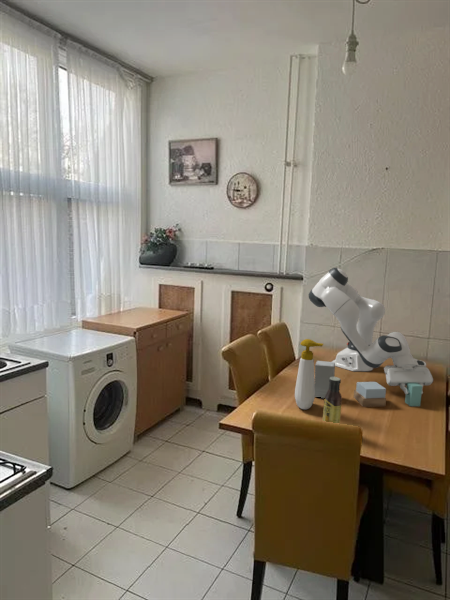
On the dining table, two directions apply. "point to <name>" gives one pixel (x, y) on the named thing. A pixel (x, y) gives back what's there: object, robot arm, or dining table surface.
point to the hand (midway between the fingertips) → (414, 394)
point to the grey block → (371, 390)
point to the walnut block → (369, 400)
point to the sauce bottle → (332, 401)
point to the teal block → (413, 394)
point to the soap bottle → (306, 376)
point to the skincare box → (323, 377)
